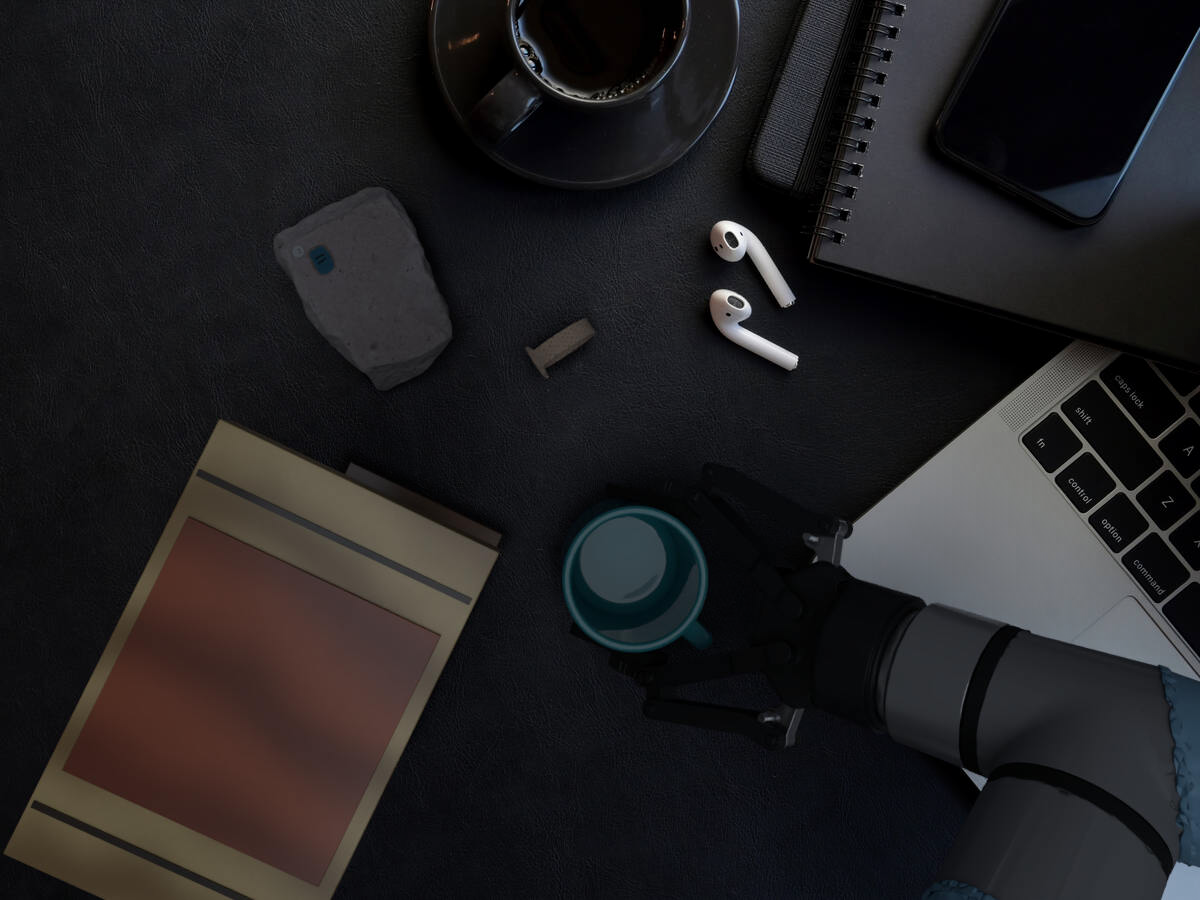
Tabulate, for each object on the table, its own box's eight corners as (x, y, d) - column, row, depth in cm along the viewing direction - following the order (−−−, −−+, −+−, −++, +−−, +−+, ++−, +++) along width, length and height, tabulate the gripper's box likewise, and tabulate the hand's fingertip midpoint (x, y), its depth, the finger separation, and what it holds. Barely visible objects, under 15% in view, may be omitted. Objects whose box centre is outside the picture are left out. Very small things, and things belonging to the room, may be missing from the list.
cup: (652, 673, 68) (672, 716, 57) (534, 561, 68) (531, 582, 57) (737, 584, 69) (773, 609, 58) (620, 471, 68) (633, 475, 57)
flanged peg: (525, 351, 68) (523, 343, 63) (580, 315, 68) (582, 305, 63) (545, 382, 68) (545, 376, 63) (600, 346, 68) (603, 338, 63)
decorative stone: (276, 247, 67) (250, 228, 61) (393, 186, 68) (378, 161, 62) (365, 409, 68) (347, 405, 62) (480, 347, 68) (474, 338, 62)
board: (299, 964, 41) (288, 986, 39) (22, 839, 40) (-1, 856, 38) (501, 549, 41) (499, 553, 39) (231, 419, 40) (217, 418, 39)
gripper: (889, 859, 52) (597, 711, 67) (984, 477, 52) (671, 416, 67) (825, 883, 46) (523, 715, 61) (931, 455, 46) (604, 394, 61)
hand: (600, 559), depth 64 cm, fingers closed on cup, 9 cm apart
